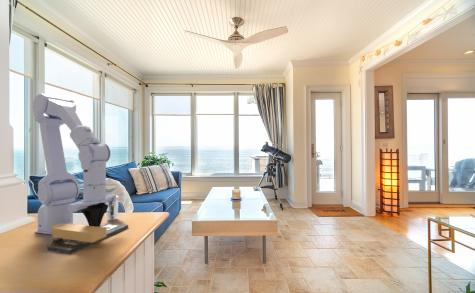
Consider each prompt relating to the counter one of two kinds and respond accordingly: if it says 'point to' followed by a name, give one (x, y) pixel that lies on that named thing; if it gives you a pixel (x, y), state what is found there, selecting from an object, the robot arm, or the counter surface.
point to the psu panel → (75, 245)
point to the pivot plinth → (57, 239)
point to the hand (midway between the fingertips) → (94, 230)
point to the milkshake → (112, 209)
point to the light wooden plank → (78, 232)
